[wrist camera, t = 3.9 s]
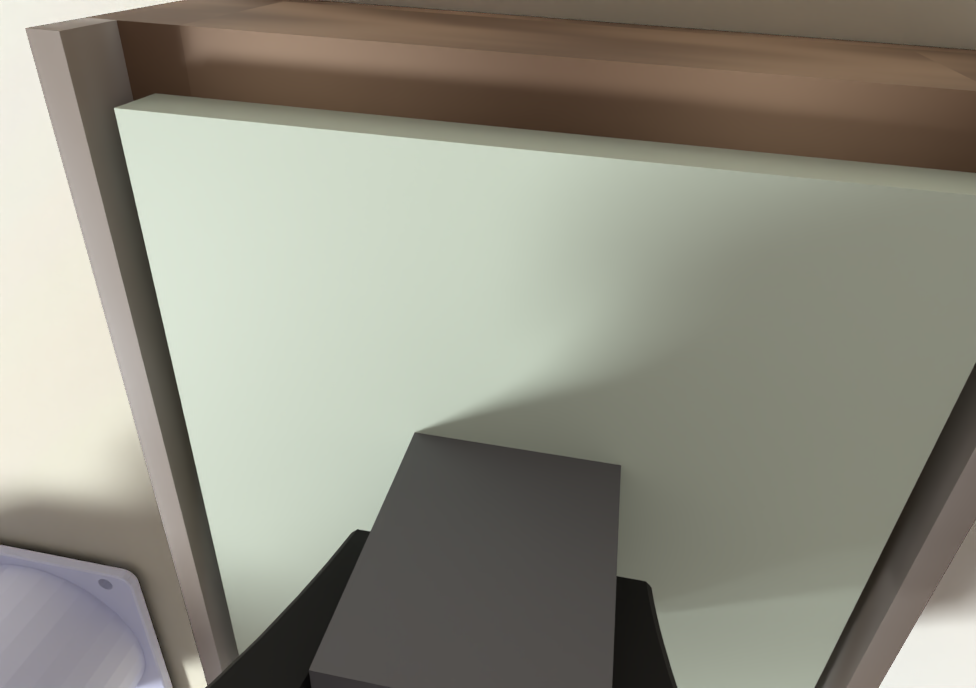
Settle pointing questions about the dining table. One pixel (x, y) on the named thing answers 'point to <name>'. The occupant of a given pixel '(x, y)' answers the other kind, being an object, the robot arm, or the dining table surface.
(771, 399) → the sliding lid
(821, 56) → the wooden box
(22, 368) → the dining table surface
